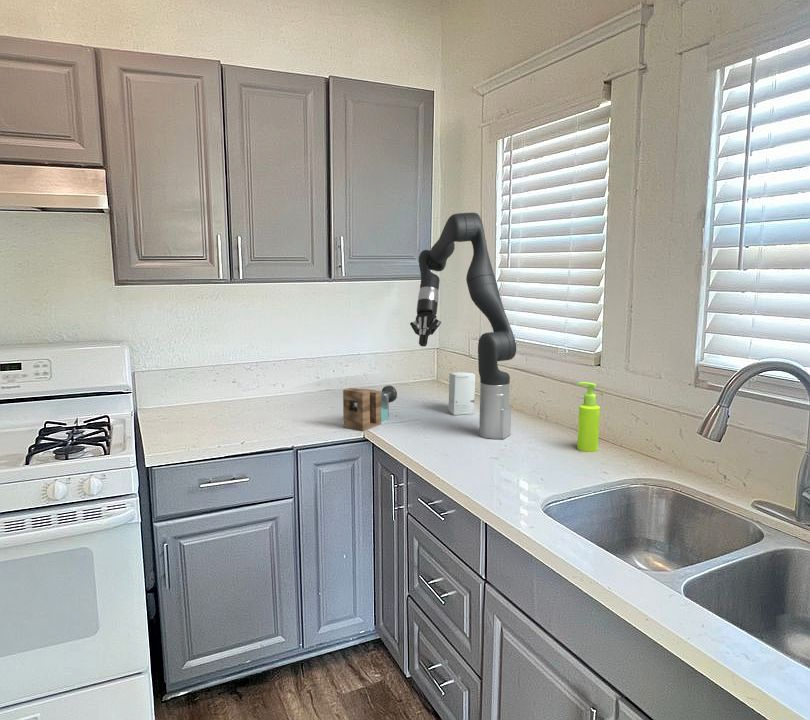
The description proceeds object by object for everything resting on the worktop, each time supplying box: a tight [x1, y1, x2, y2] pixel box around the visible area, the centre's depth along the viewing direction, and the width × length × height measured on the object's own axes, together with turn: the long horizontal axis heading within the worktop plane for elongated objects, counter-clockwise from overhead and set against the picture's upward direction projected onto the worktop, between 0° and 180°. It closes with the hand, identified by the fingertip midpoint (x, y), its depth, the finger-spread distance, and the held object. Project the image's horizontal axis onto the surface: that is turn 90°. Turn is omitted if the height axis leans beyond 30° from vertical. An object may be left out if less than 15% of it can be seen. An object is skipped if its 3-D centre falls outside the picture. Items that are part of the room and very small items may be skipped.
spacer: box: [381, 408, 389, 423], centre depth 213 cm, size 5×6×4 cm
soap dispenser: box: [576, 381, 601, 453], centre depth 180 cm, size 6×7×20 cm
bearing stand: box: [342, 387, 382, 432], centre depth 205 cm, size 8×10×13 cm
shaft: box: [351, 385, 398, 418], centre depth 210 cm, size 6×21×10 cm, turn 147°
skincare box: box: [447, 371, 476, 416], centre depth 222 cm, size 8×6×15 cm
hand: (422, 345), depth 222 cm, fingers closed
